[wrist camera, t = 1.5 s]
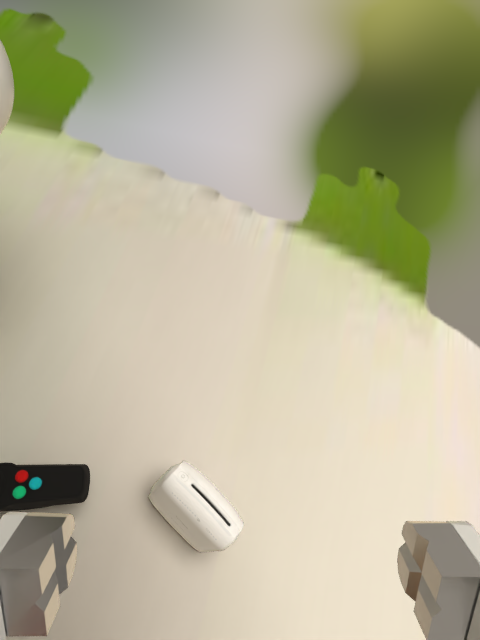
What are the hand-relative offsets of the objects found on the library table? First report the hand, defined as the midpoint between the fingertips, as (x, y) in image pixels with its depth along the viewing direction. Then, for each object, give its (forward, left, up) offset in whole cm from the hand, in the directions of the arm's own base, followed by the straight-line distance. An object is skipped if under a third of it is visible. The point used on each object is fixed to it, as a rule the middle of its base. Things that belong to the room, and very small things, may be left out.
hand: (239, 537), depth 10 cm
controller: (-11, 0, -45) cm, 46 cm away
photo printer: (+5, +8, -45) cm, 46 cm away
